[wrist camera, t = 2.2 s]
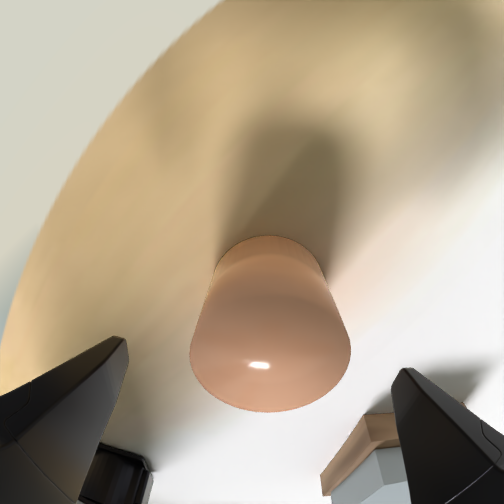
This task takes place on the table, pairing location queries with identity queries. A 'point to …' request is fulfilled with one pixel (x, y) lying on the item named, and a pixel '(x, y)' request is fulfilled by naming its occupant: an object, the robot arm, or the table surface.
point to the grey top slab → (375, 481)
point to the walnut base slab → (360, 448)
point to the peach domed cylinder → (269, 329)
